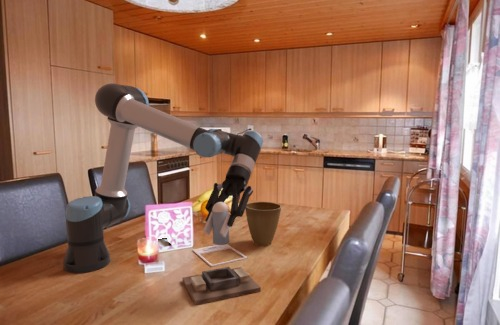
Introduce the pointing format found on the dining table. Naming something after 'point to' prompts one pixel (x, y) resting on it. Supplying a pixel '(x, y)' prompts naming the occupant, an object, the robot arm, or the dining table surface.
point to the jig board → (219, 284)
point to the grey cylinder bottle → (219, 223)
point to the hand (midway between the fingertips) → (214, 233)
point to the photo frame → (214, 249)
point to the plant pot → (262, 221)
